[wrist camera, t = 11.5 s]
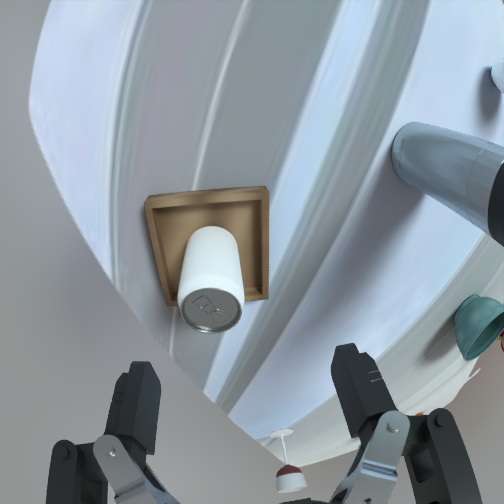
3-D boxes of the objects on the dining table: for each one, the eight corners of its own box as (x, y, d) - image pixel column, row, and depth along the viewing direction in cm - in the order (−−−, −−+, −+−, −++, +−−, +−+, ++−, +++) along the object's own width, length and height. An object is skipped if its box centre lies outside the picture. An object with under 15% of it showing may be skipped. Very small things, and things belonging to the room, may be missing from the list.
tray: (265, 186, 32) (269, 192, 30) (265, 288, 39) (268, 299, 37) (149, 195, 31) (143, 202, 29) (169, 295, 38) (167, 306, 36)
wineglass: (279, 427, 66) (291, 487, 49) (300, 430, 69) (313, 485, 52) (261, 436, 69) (270, 493, 51) (282, 439, 72) (292, 492, 55)
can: (208, 277, 37) (208, 345, 26) (176, 244, 34) (160, 308, 23) (247, 250, 35) (260, 315, 25) (215, 214, 32) (215, 271, 22)
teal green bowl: (476, 319, 55) (496, 344, 46) (436, 341, 55) (456, 371, 46) (492, 274, 47) (518, 299, 37) (451, 296, 47) (478, 328, 38)
